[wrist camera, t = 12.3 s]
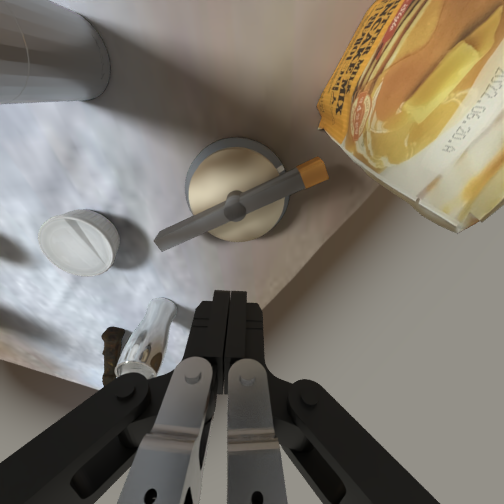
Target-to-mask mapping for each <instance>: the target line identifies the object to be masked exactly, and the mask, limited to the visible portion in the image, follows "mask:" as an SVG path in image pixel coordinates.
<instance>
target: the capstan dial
mask: <svg viewBox="0 0 504 504" xmlns="http://www.w3.org/2000/svg"><path fill="white" fill-rule="evenodd" d="M327 179H329V177H328V174H327V171H326V167H325V164H324V162H323V161H322V160H321V159H320V158H319V157H316V158H313V159H311V160H309V161H307V162H305V163H303V164H301V165H298V166H296V168H294V169H292V170H290V171H288V172H286V173H284V174H282V175H279V173H278V171H277V169H276V168H275V166H274V165H273V164H272V163H271V162H270V161H269V160H268V159H267V158H266V157H265V156H263V155H262V154H260V153H258V152H256V151H254V150H251V149H248V148H243V147H229V148H224V149H221V150H218V151H216V152H214V153H212V154H211V155H209V156H208V157H207V158H205V159H204V160H203V162H202V163H201V164H200V165H199V166H198V168H197V169H196V171H195V172H194V174H193V176H192V178H191V182H190V185H189V203H190V207H191V210H192V213H193V215H194V216H192V217H190V218H187V219H185V220H183V221H181V222H179V223H177V224H175V225H172V226H170V227H168V228H166V229H164V230H162V231H160V232H159V234H158V235H157V237H156V238H155V240H154V242H155V244H156V245H157V246H158V247H159V249H160V250H161V251H162V252H163V251H165V250H167V249H170V248H172V247H174V246H176V245H179V244H181V243H183V242H185V241H187V240H190V239H192V238H194V237H196V236H199V235H201V234H203V233H205V232H209V233H210V234H212V235H213V236H215V237H217V238H220V239H223V240H226V241H232V242H245V241H250V240H253V239H256V238H258V237H261V236H262V235H264V234H266V233H267V232H268V231H269V230H271V229H272V228H273V226H274V225H275V224H276V223H277V221H278V220H279V218H280V216H281V214H282V211H283V207H284V200H285V197H286V196H289V195H291V194H293V193H295V192H298V191H300V190H302V189H304V188H306V189H307V188H309V187H311V186H314V185H316V184H318V183H320V182H323V181H325V180H327Z"/></svg>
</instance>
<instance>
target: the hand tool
mask: <svg viewBox="0 0 504 504" xmlns="http://www.w3.org/2000/svg"><path fill="white" fill-rule="evenodd" d="M124 333H125V331H124V329H121V328H117V327H109V328H107V330H106V331H105V332H104V333H103V334H102V339H103V340H104V351H103V353H102V354H103V355H104V374H103V378H102V379H103V381H102V382H103V385H104V387H105V386H106V385H107V384H109V383H110V382H112V381H113V380H114V379H116V377H117V376H116V375H115V367H116V366H117V363H118V360H119V358H120V352H121V346H122V344H121V340H122V337H123V335H124Z"/></svg>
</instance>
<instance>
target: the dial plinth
mask: <svg viewBox="0 0 504 504" xmlns="http://www.w3.org/2000/svg"><path fill="white" fill-rule="evenodd" d="M229 147H243V148H248V149H251V150H254V151H256V152H258V153H260V154H262V155H263V156H265V157H266V158H267V159H268V160H269V161H270V162H271V163H272V164H273V165H274V166H275V168H276V169H277V171H278V173H279V175H282V174H284V173H286V171H285V169H284V167H283V165H282V163H281V161H280V160H279V158H278V157H277V156H276V155H275V154H274V153H273V152H272V151H271V150H270V149H269V148H268V147H266V146H265V145H263V144H261V143H259V142H257V141H255V140H251V139H248V138H241V137H231V138H225V139H222V140H218V141H216V142H214V143H212V144H210V145H209V146H207V147H206V148H205V149H204V150H202V151H201V152H200V153H199V155H198V156H197V157H196V158H195V159H194V161H193V162H192V164H191V166H190V168H189V170H188V173H187V177H186V182H185V194H186V200H187V203H188V206H189V208H190V211H191V213H192V210H191V207H190V203H189V185H190V182H191V178H192V176H193V174H194V172H195V171H196V169H197V168H198V166H199V165H200V164H201V163H202V162H203V160H204V159H205V158H207V157H208V156H209V155H211V154H212V153H214V152H216V151H218V150H221V149H224V148H229ZM288 202H289V196H286V197H285V200H284V207H283V211H282V214H281V216H280V218H279V220H278V221H277V223H278V222H279V221H280V220H281V218H282V217H283V215H284V213H285V211H286V208H287V205H288ZM192 214H193V213H192ZM193 216H194V215H193ZM277 223H276V224H277ZM276 224H275V225H274V226H276ZM274 226H273V227H274ZM269 231H270V230H269Z"/></svg>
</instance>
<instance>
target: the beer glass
mask: <svg viewBox="0 0 504 504" xmlns="http://www.w3.org/2000/svg"><path fill="white" fill-rule="evenodd" d="M176 314H177V307H176V305H175V304H174V303H173V302H172V301H171V300H169V299H166V298H155V299H152V300H151V301H150V302H149V304H148V306H147V311H146V314H145V317H144V318H143V320H142V321H141V323H140V324H139V325H138V327H137V328H136V329H135V330H134V332H133V333H132V335H131V336H130V338H129V339H128V341H127V343H126V344H125V346H124V349H123V351H122V353H121V355H120V358H119V360H118V363H117V366H116V367H115V375H116V376H117V377H119V376H121V375H123V374H126V373H130V372H136V373H140V374H142V375H144V376H145V377H146V379H151V378H154V377H157V374H158V372H159V370H160V368H161V365H162V363H163V360H164V357H165V354H166V350H167V345H168V339H169V330H170V326H171V323H172V321H173V319H174V318H175V316H176Z"/></svg>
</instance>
